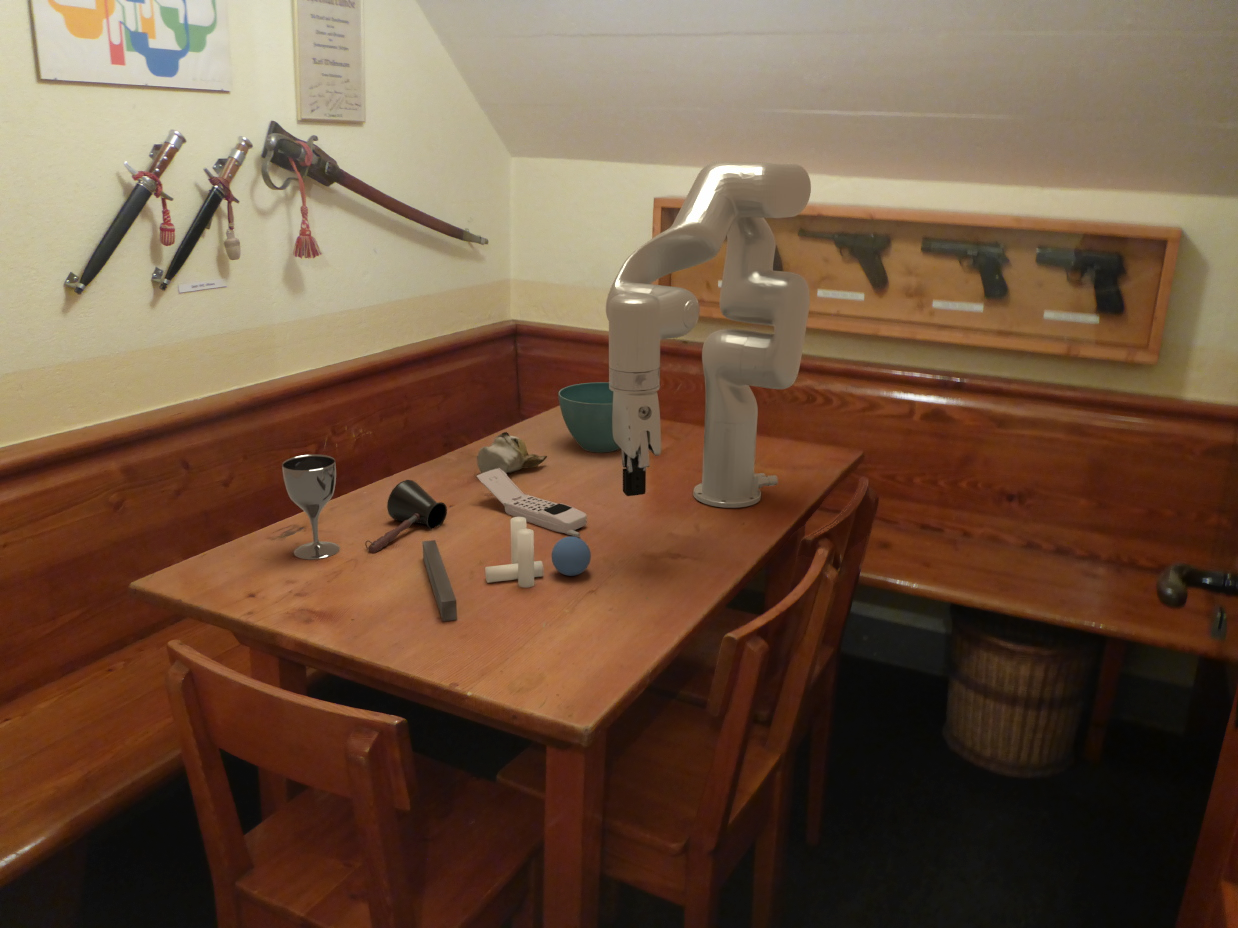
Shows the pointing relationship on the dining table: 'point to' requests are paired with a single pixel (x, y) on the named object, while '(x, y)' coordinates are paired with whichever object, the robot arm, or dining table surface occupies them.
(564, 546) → the ball
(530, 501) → the mobile phone
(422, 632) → the dining table surface
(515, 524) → the pin
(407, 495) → the coffee pot
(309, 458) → the silver goblet
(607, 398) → the teal bowl
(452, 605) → the back wall
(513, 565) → the front pin
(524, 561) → the pin
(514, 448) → the ceramic sculpture
